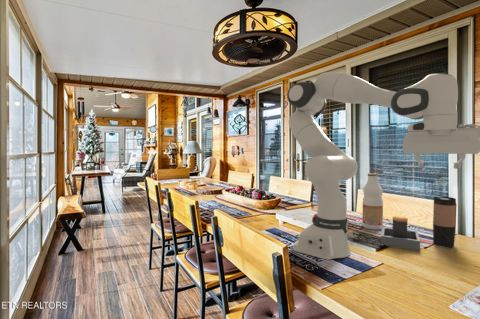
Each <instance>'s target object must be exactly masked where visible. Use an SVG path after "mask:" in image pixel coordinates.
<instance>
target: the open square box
mask: <svg viewBox="0 0 480 319" xmlns="http://www.w3.org/2000/svg"><path fill="white" fill-rule="evenodd" d="M381 244H383V245H382V246H384V245H386V247H389V248H390V247H391V248H399V249H403V250H409V251H410V250H411V251H418V252H421V239H420V234H419V231H418V230H417V231H416V230H410V229H409V230H408V229H407V239H406V238H398V237H393V227H392V228H391V227H384V226H383V227H382V229H381V234H380V245H381Z"/></svg>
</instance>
